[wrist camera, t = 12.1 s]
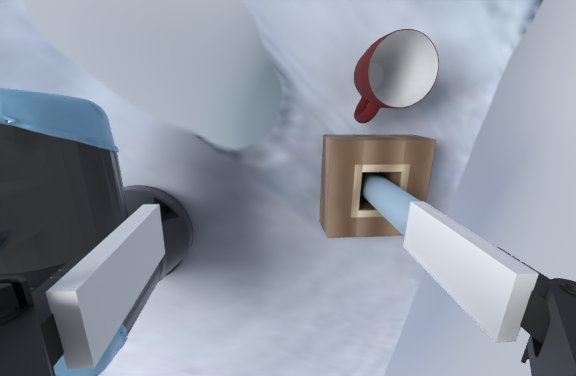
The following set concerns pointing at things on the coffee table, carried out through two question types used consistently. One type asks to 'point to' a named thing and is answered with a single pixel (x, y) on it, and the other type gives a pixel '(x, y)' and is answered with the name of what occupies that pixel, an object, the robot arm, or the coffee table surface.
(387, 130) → the coffee table surface
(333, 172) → the socket block
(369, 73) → the mug
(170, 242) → the robot arm
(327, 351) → the coffee table surface
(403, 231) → the peg
